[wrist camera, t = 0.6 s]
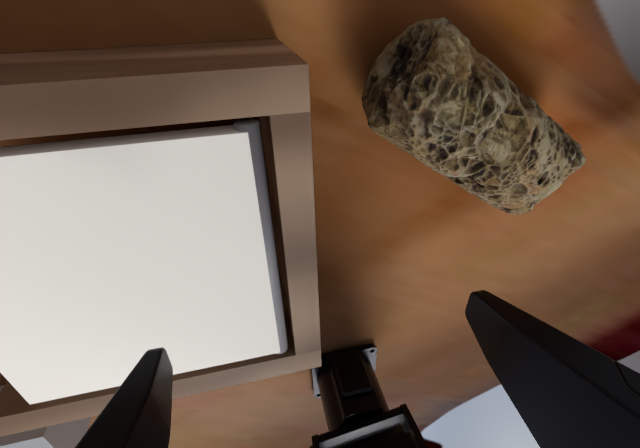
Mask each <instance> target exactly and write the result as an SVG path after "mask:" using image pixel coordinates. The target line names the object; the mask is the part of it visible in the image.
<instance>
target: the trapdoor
mask: <svg viewBox="0 0 640 448" xmlns="http://www.w3.org/2000/svg"><path fill="white" fill-rule="evenodd" d="M161 347H163V348H165V350H166V352H167V354H168V357H169V359H170V362H171V365H172V368H173V375H175V374H180V373H184V372H189V371H194V370H199V369H204V368H209V367H213V366H218V365H223V364H228V363H233V362H237V361H242V360H247V359H252V358H257V357H261V356H266V355H271V354H283V353H284V352H286V350H287V349H288V343H287V335H286V327H285V320H284V312H283V304H282V296H281V288H280V280H279V272H278V264H277V257H276V249H275V241H274V233H273V225H272V217H271V209H270V201H269V194H268V186H267V178H266V170H265V162H264V154H263V146H262V138H261V131H260V123H259V120H257V119H253V118H247V119H240V120H237V121H235V122H234V123H233V125H227V126H217V127H206V128H196V129H185V130H175V131H164V132H154V133H144V134H133V135H123V136H112V137H102V138H91V139H81V140H70V141H60V142H49V143H39V144H28V145H18V146H7V147H0V373H1V374H2V375H3V376H4V377H5V378H6V379H7V380H8V381H9V382H10V384H11V385H12V386H13V387H14V388H15V389H16V390H17V391H18V392H19V393H20V395H21V396H22V397H23V398H24V399H25V400H26V401H27V402H28V403H29V404H30V405H31V404H35V403H40V402H45V401H50V400H55V399H59V398H64V397H69V396H74V395H79V394H83V393H88V392H93V391H98V390H103V389H108V388H112V387H117V386H121V385H122V383H123V382H124V380H125V379H126V378H127V376H128V375H129V374H130V372H131V371H132V370H133V368H134V367H135V366H136V364H137V363H138V362H139V360H140V359H141V358H142V356H143V355H144V354H145V352H146V351H148V350H150V349H155V348H161Z"/></svg>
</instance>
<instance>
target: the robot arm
mask: <svg viewBox="0 0 640 448" xmlns="http://www.w3.org/2000/svg"><path fill="white" fill-rule="evenodd" d="M465 314H466V318H467V320H468V322H469V324H470V326H471V328H472V330H473V333H474V335H475V337H476V339H477V341H478V343H479V345H480V347H481V349H482V351H483V353H484V355H485V357H486V359H487V361H488V363H489V365H490V366H491V368H492V370H493V371H494V373H495V375H496V376H497V378H498V379H499V381H500V383H501V384H502V386H503V388H504V389H505V391H506V393H507V394H508V396H509V397H510V399H511V401H512V402H513V404H514V405H515V407H516V409H517V410H518V412H519V414H520V415H521V417H522V419H523V420H524V422H525V423H526V425H527V427H528V428H529V430H530V432H531V433H532V435H533V437H534V438H535V440H536V441H537V443H538V445H539V446H540V448H640V373H638V372H636V371H633V370H632V369H630V368H628V367H626V366H624V365H623V364H621V363H619V362H617V361H613V359H611V358H610V357H608V356H606V355H604V354H602V353H600V352H598V351H597V350H595V349H593V348H591V347H589V346H587V345H586V344H584V343H582V342H580V341H578V340H576V339H574V338H573V337H571V336H569V335H567V334H565V333H563V332H561V331H560V330H558V329H556V328H554V327H552V326H550V325H549V324H547V323H545V322H543V321H541V320H539V319H537V318H536V317H534V316H532V315H530V314H528V313H526V312H525V311H523V310H521V309H519V308H517V307H515V306H513V305H512V304H510V303H508V302H506V301H504V300H502V299H500V298H499V297H497V296H495V295H493V294H491V293H489V292H487V291H485V290H481V291H475V292H472V293H471V294H470V297H469V300H468V303H467V307H466V310H465ZM376 355H377V348H376V346H375V345H374V344H370V345H366V346H361V347H356V348H352V349H347V350H342V351H338V352H333V353H328V354H324V355H321V363H322V366H321V367H316V368H312V381H313V393H314V397H315V398H321V399H322V404H323V408H324V412H325V417H326V421H327V425H328V429H329V432H326V433H323V434H320V435H318V434H317V435H314V436H312V443H313V445H312V446H311V447H310V448H428V447H427V445H426V443H425V441H424V439H423V437H422V435H421V433H420V431H419V429H418V427H417V425H416V423H415V421H414V419H413V417H412V415H411V413H410V411H409V409H408V407H407V406H406V404H402V405H400V407H397V408H395V409H392V410H389V408H388V406H387V403H386V401H385V398H384V396H383V393H382V390H381V388H380V385H379V383H378V380H377V378H376V375H375V365H376ZM172 386H173V368H172V365H171V362H170V359H169V357H168V354H167V352H166V350H165V348H163V347H161V348H155V349H150V350H148V351H146V352H145V354H144V355H143V356H142V358H141V359H140V360H139V362H138V363H137V364H136V366H135V367H134V368H133V370H132V371H131V372H130V374H129V375H128V376H127V378H126V379H125V380H124V382H123V383H122V385H121V386H120V387H119V389H118V390H117V391H116V393H115V394H114V395H113V397H112V398H111V399H110V401H109V402H108V403H107V405H106V406H105V407H104V409H103V410H102V411H101V413H100V414H99V415H98V417H97V418H96V419H95V421H94V422H93V424H92V425H91V426H90V428H89V429H88V430H87V432H86V433H85V434H84V436H83V437H82V438H81V440H80V441H79V442H78V444H77V445H76V446H75V448H168V445H169V438H170V427H171V407H172Z"/></svg>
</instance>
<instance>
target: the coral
mask: <svg viewBox="0 0 640 448" xmlns="http://www.w3.org/2000/svg"><path fill="white" fill-rule="evenodd" d="M362 103H363V104H362V105H363V108H364V111H365V113H366V117H367V120H368V125H369V127H370V128H371V129H372V130H373V131H374V132H375V133H376V134H378V135H379V136H381V137H383V138H384V139H386V140H388V141H389V142H391V143H392V144H394V145H396V146H397V147H398V148H399V149H401V150H403V151H405V152H407V153H409V154H411V155H412V156H414V157H415V158H416V159H418V160H419V161H420V162H422V163H423V164H424V165H426V166H428V167H429V168H431V169H432V170H434V171H436V172H438V173H439V174H442V175H444V176H446V177H447V178H449V179H450V180H452V181H453V182H454V183H456V184H457V185H459V186H460V187H462V188H463V189H465V190H466V191H468V192H469V193H471V194H472V195H475V196H477V197H478V198H479V199H481V200H483V201H485V202H487V203H489V204H490V205H492V206H493V207H496V208H499V209H500V210H502V211H505V212H506V213H509V214H517V215H518V214H522V213H525V212H529V211H531V210H532V209H533V207H534V206H535V204H537V203H539V202H540V201H541V200H542V199H544V198H546V197H548V196H549V195H550V194H551V193H553V192H554V191H555V190H556V189H557V188H559V187H560V186H561V184H562V183H563V182H564V181H565V180H566V179H567V178H568V177H569V176H570V174H571V173H573V172H575V171H576V170H578V169H579V168H580V167H582V165H583V164H584V163H585V157H584V155H583V153H582V151H581V148H582V147H581V146H580V145H579V144H578V143H577V142H575V141H574V140H573V139H572V138H571V137H570V135H569V134H567V133H565V131H564V130H563V129H562V127H561V126H560V125H559V124H557V123H556V122H555V121H554V120H553V119H552V118H551V117H549V116H547V115H546V114H545V112H544V111H543V110H542V109H541V108H540V107H539V105H538V104H537V102H536V101H535V100H533V99H532V98H531V97H529V96H526V95H524V94H523V93H521V91H520V89H519V88H518V87H517V86H516V85H515V84H514V83H513V82H512V81H511V80H509V78H508V77H507V76H506V75H505V74H504V73H503V72H502V71H501V70H500V69H499V68H498V67H497V66H496V65H495V64H494V63H493V62H492V61H490V60H489V59H488V58H487V57H486V56H484V55H482V54H480V53H478V52H477V51H476V49H475V48H474V47H472V46H471V44H470V41H469V39H468V38H467V37H466V36H465V35H463V34H462V33H461V32H460V31H459V29H458V28H457V27H455V26H454V25H453V24H451V23H450V22H449V21H448V20H447V19H446V18H444V17H442V18H434V19H426V20H419V21H417V22H416V23H414V24H412V25H410V26H409V27H407V28H406V29H405V30H404V31H403V32H402V33H401V34H400V36H399V37H397V38H396V39H394V40H393V41H392V42H390V43H389V44H388V45H387V46H386V48H385V49H384V51H383V52H382V53H381V54H380V55H379V56H378V57H377V59H376V60H375V61H374V63H373V64H372V66H371V69H370V72H369V74H368V77H367V80H366V82H365V85H364V92H363V96H362Z"/></svg>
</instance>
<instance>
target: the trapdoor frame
mask: <svg viewBox="0 0 640 448" xmlns="http://www.w3.org/2000/svg"><path fill="white" fill-rule="evenodd" d="M259 116H260V123H261V131H262V139H263V147H264V155H265V163H266V171H267V179H268V187H269V195H270V203H271V211H272V219H273V227H274V235H275V243H276V251H277V264H278V272H279V280H280V288H281V296H282V304H283V312H284V320H285V327H286V335H287V343H288V349H287V350H286V352H284V353H283V354H271V355H266V356H261V357H257V358H252V359H247V360H242V361H237V362H233V363H228V364H223V365H218V366H213V367H209V368H204V369H199V370H194V371H189V372H184V373H180V374H175V375H173V386H172V399H175V398H179V397H184V396H189V395H193V394H198V393H202V392H207V391H211V390H216V389H221V388H225V387H230V386H234V385H239V384H243V383H248V382H252V381H257V380H262V379H266V378H271V377H275V376H280V375H284V374H289V373H294V372H298V371H303V370H307V369H312V368H316V367H321V366H322V363H321V341H320V318H319V295H318V272H317V250H316V227H315V204H314V182H313V159H312V136H311V114H310V91H309V68H308V64H307V63H306V62H305V61H304V60H303V59H301V58H300V57H299V56H298V55H297V54H295V53H294V52H293V51H292V50H290V49H289V48H288V47H287V46H286V45H284V44H283V43H282V42H281V41H280V40H278V39H260V40H242V41H224V42H207V43H189V44H171V45H153V46H135V47H117V48H99V49H81V50H63V51H45V52H27V53H9V54H0V140H10V139H21V138H32V137H42V136H53V135H64V134H75V133H86V132H96V131H107V130H118V129H129V128H140V127H151V126H161V125H172V124H183V123H194V122H205V121H215V120H226V119H237V118H248V117H259ZM119 387H120V386H117V387H112V388H108V389H103V390H98V391H93V392H88V393H83V394H79V395H74V396H69V397H64V398H59V399H55V400H50V401H45V402H40V403H35V404H31V405H30V404H29V403H28V402H27V401H26V400H25V399H24V398H23V397H22V396H21V395H20V393H19V392H18V391H17V390H16V389H15V388H14V387H13V386H12V385H11V384H10V382H9V381H8V380H7V381H6V383H5V384H4V386H3V388H2V389H1V391H0V437H1V436H6V435H10V434H15V433H20V432H24V431H29V430H33V429H38V428H42V427H47V426H52V425H56V424H61V423H65V422H70V421H74V420H79V419H84V418H88V417H93V416H97V415H99V414H100V413H101V411H102V410H103V409H104V407H105V406H106V405H107V403H108V402H109V401H110V399H111V398H112V397H113V395H114V394H115V393H116V391H117V390H118V389H119Z"/></svg>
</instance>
